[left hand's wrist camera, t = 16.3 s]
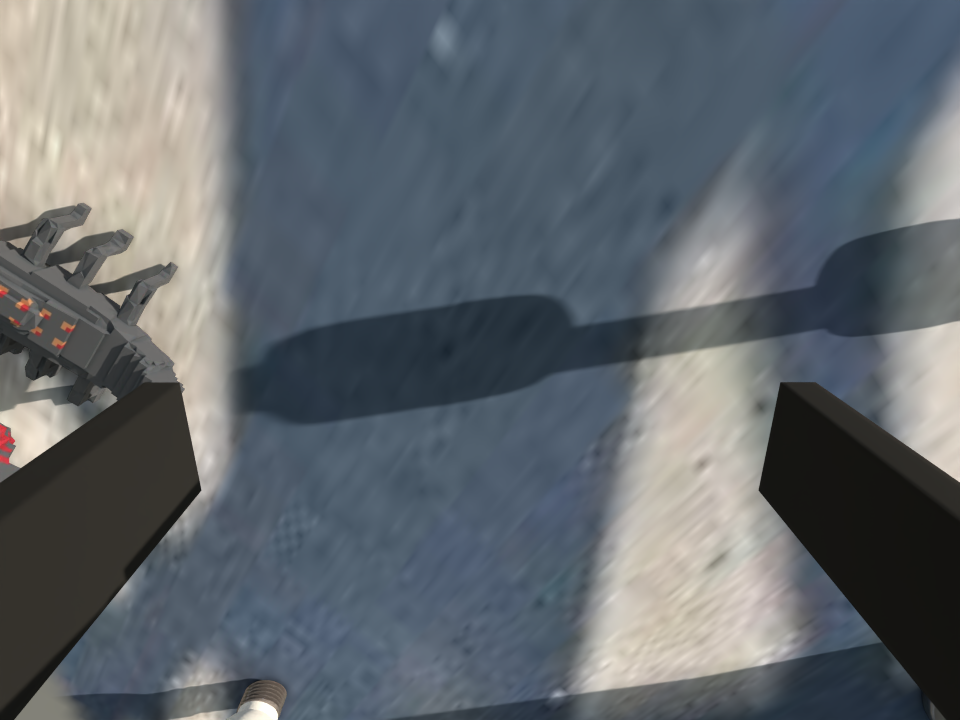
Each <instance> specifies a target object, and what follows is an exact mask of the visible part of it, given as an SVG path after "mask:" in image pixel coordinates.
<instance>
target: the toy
mask: <svg viewBox="0 0 960 720" xmlns="http://www.w3.org/2000/svg"><path fill="white" fill-rule="evenodd" d="M91 209H92V208H90V207H89V206H87V205H86V204H84V203H80V204H78V205H77V206H76V208H75V209H74V211H73V212H72V213H71V214H70V215H65V216H60V217H55V218H49V219H42V221H41V222H40V224H39V225H38V227H37V228H36V230H35V231H34V233H33V235H32V237H31V238H30V240H29V242H28V243H27V245H26V247H25V249H24V250H23V249H21V248H17V247H15V246H14V245H12V244H11V243H9V242H5V241H0V355H2V354H4V353H6V352H12V353H13V354H18V353H21V352H22V349H23V347H24V346H26V347H27V348H29V349H31V351H30V352H29V360H28V362H27V364H26V366H25V371H26V376H27V377H28V378H30V379H32V380H33V381H34V380H36V379H38V378H40V377H42V376H44V375H47V376H49V377H50V378H51V377H53V376H55V375H57V374H58V372H59V370H60V368H61V366H63V367H65V368H66V369H68V370H70V371H71V372H73V373H75V374H77V375H78V376H79V377H78V378H77V380H76V382H75V384H74V386H73V388H72V390H71V392H70V394H69V396H68V398H67V400H68V401H70V402H72V403H73V404H75V405H77V406H79V405H81V404H82V403H84V402H85V401H86V400H89V401H91V402H92V403H94V402H96V401H97V400H99V399H100V397H101V395H102V394H103V392H104V390H105V388H106V387H107V388H108V389H110V390H111V391H112V394H113V395H114V396H116V397H117V400H120V399H121V398H123V397H124V396H126V395H127V394H128V393H130V392H131V391H133V390H134V389H136V388H137V387H139V386H140V385H141V384H143V383H144V382H178V381H176V380H177V379H178V378H176V377H175V375H176V374H175V373H174V372H173V369H172V367H173V365H174V362H173V361H172V360H171V359H170V358H169V357H168V356H167V355H166V354H165V353H163V352H162V351H161V350H160V349H159V348H158V347H157V346H156V345H155V344H154V343H152V341H151V338H150V337H149V336H148V335H147V334H146V333H145V332H144V331H143V330H142V329H141V328H139V327H138V326H137V325H136V324H137V322H138V320H139V318H140V316H141V314H142V312H143V310H144V308H145V306H146V305H147V303H148V302H149V300H150V299H151V298H152V296H153V295H154V293H155V292H156V290H157V288H159V287H160V286H162V285H164V284H167V283H169V281H170V280H171V278H172V276H173V275H174V273H175V271H176V270H177V268H178V266H176V265H175V264H173V263H172V262H170V263H169V264H168V265H167V266H166V267H165V268H164V269H163V270H162V271H161V272H160V273H159V274H157V275H155V276H153V277H150V278H148V279H145V280H143V279H140V280H138V281H137V282H136V284H135V285H134V287H133V289H132V291H131V293H130V294H129V295H127V296H126V298H125V300H124V302H123V304H122V306H121V308H120V305H118V304H117V303H115V302H114V301H112V300H111V299H110V298H108V297H107V296H105V295H104V294H102V293H97V292H96V291H95V290H93V289H92V288H91V287H90V286H89V285H88V284H89V283H90V282H91V281H92V280H93V278H94V276H95V275H96V273H97V272H98V270H99V269H100V267H101V266H102V264H103V263H104V261H105V260H106V258H107V257H108V256H111V255H116V254H120V253H122V252H124V251H125V250H127V248H128V246H129V244H130V243H131V241H132V239H133V236H132V235H130V234H129V233H127V232H126V231H124V230H123V229H121V230H117V232H116V233H115V234H114V236H113V237H112V238H111V239H110V241H108V242H107V243H105V244H104V245H100V246H97V247H93V248H91V249H89V250H88V251H86V252H85V253H84V255H83V257H82V259H81V261H80V262H79V264H78V266H77V268H76V269H75V271H74V273H73V274H71V273H70V272H68V271H67V270H65V269H64V268H62V267H61V266H59V265H56V266H52V267H51V266H49V265H48V264H46V260H47V258H48V256H49V254H50V252H51V250H52V249H53V248H54V246H55V245H56V244H57V242H58V240H59V239H60V237H61V236H62V234H63V232H64V231H66V230H68V229H70V228H73V227H77V226H81V225H83V224H84V222H85V220H86V218H87V216H88V214H89V212H90V210H91ZM182 386H183V384H181V383H180V387H181V392H183V391H184V388H183V387H182ZM14 442H15V440H14V439H13V438H12V437H11V428H9V427H6V426H4V425H3V424H1V423H0V482H2V481H3V480H5V479H6V478H8V477H9V476H10V475H12V474H13V473H15V472H16V471H18V470H19V469H20V468H19V467H17V466H15V465H12V464H10V463H9V457H10V455H11V454H12V452H13V450H14V449H15V447H16V446H15V445H13V443H14Z"/></svg>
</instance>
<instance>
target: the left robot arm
mask: <svg viewBox="0 0 960 720" xmlns="http://www.w3.org/2000/svg"><path fill="white" fill-rule="evenodd" d="M200 491H201V486H200V481H199V476H198V471H197V466H196V461H195V456H194V451H193V446H192V442H191V437H190V432H189V427H188V422H187V417H186V412H185V407H184V402H183V397H182V392H181V387H180V382H144V383H143V384H141V385H140V386H139V387H137V388H136V389H134V390H133V391H131V392H130V393H128V394H127V395H126V396H124V397H123V398H121V399H120V400H118V401H117V402H115V403H114V404H113V405H111V406H110V407H108V408H107V409H105V410H104V411H103V412H101V413H100V414H98V415H97V416H95V417H94V418H92V419H91V420H90V421H88V422H87V423H85V424H84V425H82V426H81V427H79V428H78V429H77V430H75V431H74V432H72V433H71V434H69V435H68V436H67V437H65V438H64V439H62V440H61V441H59V442H58V443H56V444H55V445H54V446H52V447H51V448H49V449H48V450H46V451H45V452H44V453H42V454H41V455H39V456H38V457H36V458H35V459H33V460H32V461H31V462H29V463H28V464H26V465H25V466H23V467H22V468H20V469H19V470H18V471H16V472H15V473H13V474H12V475H10V476H9V477H8V478H6V479H5V480H3V481H2V482H0V720H14V719H15V718H16V717H17V715H18V714H19V713H20V712H21V711H22V709H23V708H24V707H25V706H26V704H27V703H28V702H29V701H30V700H31V698H32V697H33V696H34V695H35V693H36V692H37V691H38V690H39V689H40V687H41V686H42V685H43V684H44V682H45V681H46V680H47V679H48V678H49V676H50V675H51V674H52V673H53V671H54V670H55V669H56V668H57V667H58V665H59V664H60V663H61V662H62V660H63V659H64V658H65V657H66V656H67V654H68V653H69V652H70V651H71V649H72V648H73V647H74V646H75V645H76V643H77V642H78V641H79V640H80V638H81V637H82V636H83V635H84V633H85V632H86V631H87V630H88V629H89V627H90V626H91V625H92V624H93V622H94V621H95V620H96V619H97V618H98V616H99V615H100V614H101V613H102V611H103V610H104V609H105V608H106V607H107V605H108V604H109V603H110V602H111V600H112V599H113V598H114V597H115V596H116V594H117V593H118V592H119V591H120V589H121V588H122V587H123V586H124V585H125V583H126V582H127V581H128V580H129V578H130V577H131V576H132V575H133V574H134V572H135V571H136V570H137V569H138V567H139V566H140V565H141V564H142V562H143V561H144V560H145V559H146V558H147V556H148V555H149V554H150V553H151V551H152V550H153V549H154V548H155V547H156V545H157V544H158V543H159V542H160V540H161V539H162V538H163V537H164V536H165V534H166V533H167V532H168V531H169V529H170V528H171V527H172V526H173V525H174V523H175V522H176V521H177V520H178V518H179V517H180V516H181V515H182V514H183V512H184V511H185V510H186V509H187V507H188V506H189V505H190V504H191V502H192V501H193V500H194V499H195V498H196V496H197V495H198V494H199V493H200ZM759 491H760V493H761V494H762V495H763V496H764V498H765V499H766V500H767V501H768V502H769V504H770V505H771V506H772V507H773V509H774V510H775V511H776V512H777V514H778V515H779V516H780V517H781V518H782V520H783V521H784V522H785V523H786V525H787V526H788V527H789V528H790V529H791V531H792V532H793V533H794V534H795V536H796V537H797V538H798V539H799V540H800V542H801V543H802V544H803V545H804V547H805V548H806V549H807V550H808V551H809V553H810V554H811V555H812V556H813V558H814V559H815V560H816V561H817V562H818V564H819V565H820V566H821V567H822V569H823V570H824V571H825V572H826V574H827V575H828V576H829V577H830V578H831V580H832V581H833V582H834V583H835V585H836V586H837V587H838V588H839V589H840V591H841V592H842V593H843V594H844V596H845V597H846V598H847V599H848V600H849V602H850V603H851V604H852V605H853V607H854V608H855V609H856V610H857V611H858V613H859V614H860V615H861V616H862V618H863V619H864V620H865V621H866V622H867V624H868V625H869V626H870V627H871V629H872V630H873V631H874V632H875V633H876V635H877V636H878V637H879V638H880V640H881V641H882V642H883V643H884V645H885V646H886V647H887V648H888V649H889V651H890V652H891V653H892V654H893V656H894V657H895V658H896V659H897V660H898V662H899V663H900V664H901V665H902V667H903V668H904V669H905V670H906V671H907V673H908V674H909V675H910V676H911V678H912V679H913V680H914V681H915V682H916V684H917V685H918V686H919V687H920V689H921V690H922V691H923V692H924V693H925V695H926V696H927V697H928V698H929V700H930V701H931V702H932V703H933V705H934V706H935V707H936V708H937V709H938V711H939V712H940V713H941V714H942V716H943V717H944V718H945V719H946V720H960V482H958V481H957V480H955V479H954V478H952V477H951V476H950V475H948V474H947V473H945V472H944V471H942V470H941V469H940V468H938V467H937V466H935V465H934V464H932V463H931V462H929V461H928V460H927V459H925V458H924V457H922V456H921V455H919V454H918V453H916V452H915V451H914V450H912V449H911V448H909V447H908V446H906V445H905V444H904V443H902V442H901V441H899V440H898V439H896V438H895V437H893V436H892V435H891V434H889V433H888V432H886V431H885V430H883V429H882V428H881V427H879V426H878V425H876V424H875V423H873V422H872V421H870V420H869V419H868V418H866V417H865V416H863V415H862V414H860V413H859V412H857V411H856V410H855V409H853V408H852V407H850V406H849V405H847V404H846V403H845V402H843V401H842V400H840V399H839V398H837V397H836V396H834V395H833V394H832V393H830V392H829V391H827V390H826V389H824V388H823V387H821V386H820V385H819V384H817V383H816V382H780V387H779V392H778V397H777V402H776V407H775V412H774V417H773V422H772V427H771V432H770V437H769V442H768V446H767V451H766V456H765V461H764V466H763V471H762V476H761V481H760V486H759Z"/></svg>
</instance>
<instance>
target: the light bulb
mask: <svg viewBox="0 0 960 720" xmlns="http://www.w3.org/2000/svg"><path fill="white" fill-rule="evenodd" d="M286 695H287V693H286V690H285V688H284V687H283V686H282V685H281V684H279V683H277V682H274V681H270V680H262V681H257V682H254V683H252V684H251V685H249V686H248V687H247V689H246V690H245V693H244V695H243V697H242V700H241V702H240V704H239V707H238V709H237V713H236V714H234V715H232V716H231V717H229V718H228V719H226V720H277V719H278V717H279V716H280V713H281V709H282V707H283V704H284V701H285V698H286Z"/></svg>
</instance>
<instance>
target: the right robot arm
mask: <svg viewBox="0 0 960 720" xmlns="http://www.w3.org/2000/svg"><path fill="white" fill-rule="evenodd" d="M922 699H923V706H924V709H925V712H926V714H927V715H928V717H929V718H930V720H946V719H945V718H944V717H943V716H942V714H941V713H940V712H939V711H938V709H937V708H936V707H935V706H934V705H933V703H932V702H931V701H930V700H929V698H928V697H927V696H926V695H925V693H924V692H923V696H922Z"/></svg>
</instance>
